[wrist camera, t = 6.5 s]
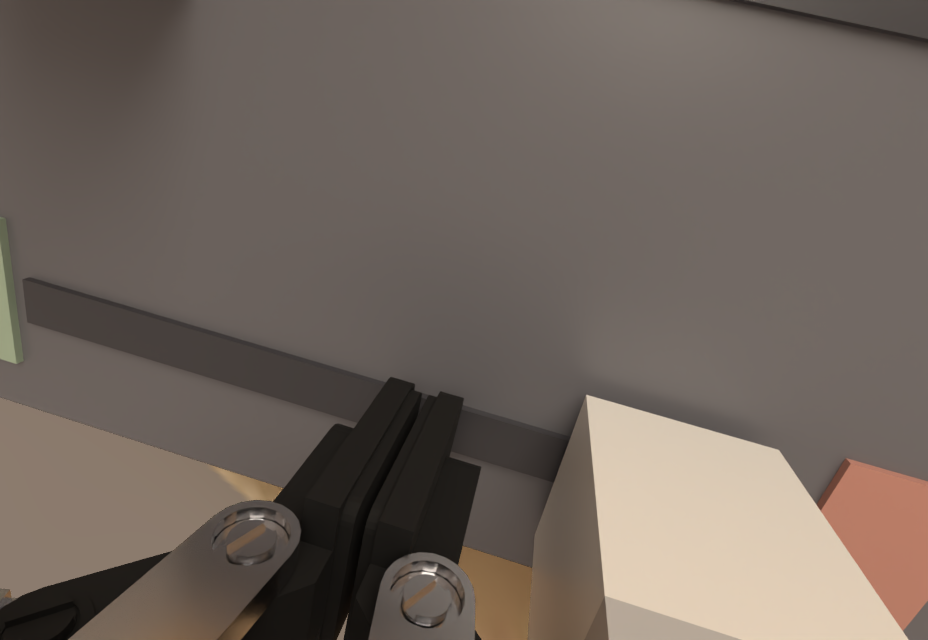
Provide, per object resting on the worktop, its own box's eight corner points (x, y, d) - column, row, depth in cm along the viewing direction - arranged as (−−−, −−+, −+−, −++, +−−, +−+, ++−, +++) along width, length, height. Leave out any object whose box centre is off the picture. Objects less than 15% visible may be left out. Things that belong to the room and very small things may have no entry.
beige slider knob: (779, 450, 10) (998, 770, 5) (701, 587, 12) (809, 942, 7) (586, 394, 11) (609, 642, 5) (534, 535, 12) (514, 834, 7)
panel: (1495, -127, 8) (1828, -220, 6) (892, 624, 14) (948, 708, 12) (-181, -412, 10) (-365, -546, 8) (-46, 333, 17) (-130, 361, 15)
